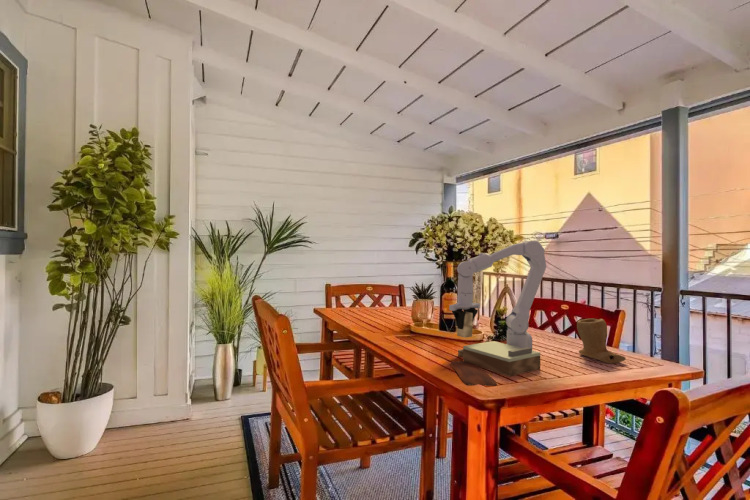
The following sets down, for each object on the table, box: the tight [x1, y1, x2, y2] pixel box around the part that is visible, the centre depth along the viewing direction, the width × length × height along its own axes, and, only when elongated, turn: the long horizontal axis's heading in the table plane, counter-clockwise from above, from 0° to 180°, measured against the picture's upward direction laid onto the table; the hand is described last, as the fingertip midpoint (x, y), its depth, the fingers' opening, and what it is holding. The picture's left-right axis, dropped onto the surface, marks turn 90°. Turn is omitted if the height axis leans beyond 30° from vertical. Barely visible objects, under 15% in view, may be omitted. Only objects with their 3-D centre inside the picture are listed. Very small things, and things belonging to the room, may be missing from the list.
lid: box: [462, 340, 541, 362], centre depth 141 cm, size 16×20×3 cm
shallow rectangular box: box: [457, 348, 541, 377], centre depth 144 cm, size 16×27×4 cm, turn 33°
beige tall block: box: [456, 312, 474, 339], centre depth 155 cm, size 4×4×9 cm
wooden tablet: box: [450, 360, 498, 387], centre depth 133 cm, size 27×10×2 cm, turn 1°
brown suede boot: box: [576, 318, 627, 364], centre depth 151 cm, size 15×12×15 cm
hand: (464, 328), depth 155 cm, fingers closed on beige tall block, 4 cm apart
